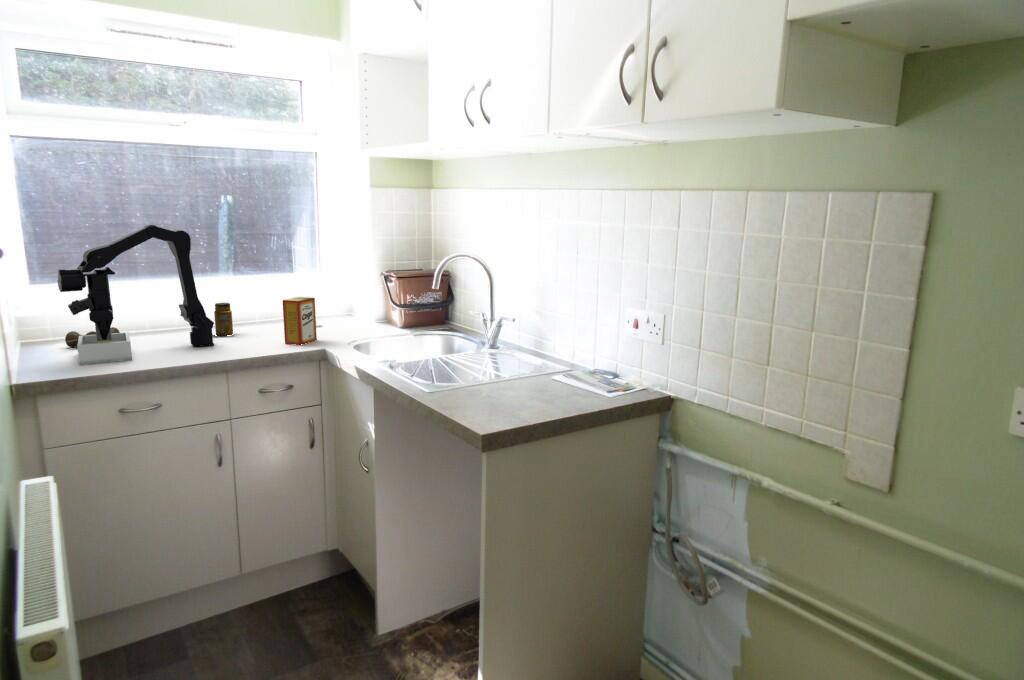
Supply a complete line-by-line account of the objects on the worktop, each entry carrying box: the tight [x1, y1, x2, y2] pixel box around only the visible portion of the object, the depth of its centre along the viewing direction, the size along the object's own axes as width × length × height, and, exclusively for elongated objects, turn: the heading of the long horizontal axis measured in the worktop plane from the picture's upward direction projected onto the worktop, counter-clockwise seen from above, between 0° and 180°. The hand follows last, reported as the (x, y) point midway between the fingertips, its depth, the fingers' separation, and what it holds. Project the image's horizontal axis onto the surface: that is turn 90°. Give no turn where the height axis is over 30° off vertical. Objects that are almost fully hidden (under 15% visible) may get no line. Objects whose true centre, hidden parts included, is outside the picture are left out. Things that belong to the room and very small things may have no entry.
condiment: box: [212, 302, 234, 338], centre depth 251 cm, size 7×8×12 cm
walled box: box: [76, 331, 133, 366], centre depth 214 cm, size 14×18×6 cm
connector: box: [94, 323, 112, 344], centre depth 213 cm, size 4×4×9 cm
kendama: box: [64, 326, 121, 348], centre depth 232 cm, size 6×10×20 cm
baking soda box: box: [282, 296, 318, 346], centre depth 239 cm, size 10×6×16 cm
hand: (104, 338), depth 213 cm, fingers closed on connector, 4 cm apart
